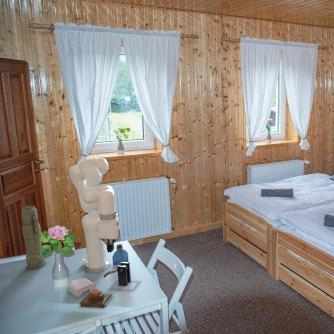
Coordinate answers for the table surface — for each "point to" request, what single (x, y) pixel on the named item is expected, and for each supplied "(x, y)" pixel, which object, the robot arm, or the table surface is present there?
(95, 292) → the button
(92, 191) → the robot arm
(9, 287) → the table surface
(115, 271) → the lever
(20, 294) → the table surface
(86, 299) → the button block
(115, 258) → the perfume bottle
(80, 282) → the pale pink block
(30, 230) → the stone head statue
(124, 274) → the tap bracket
